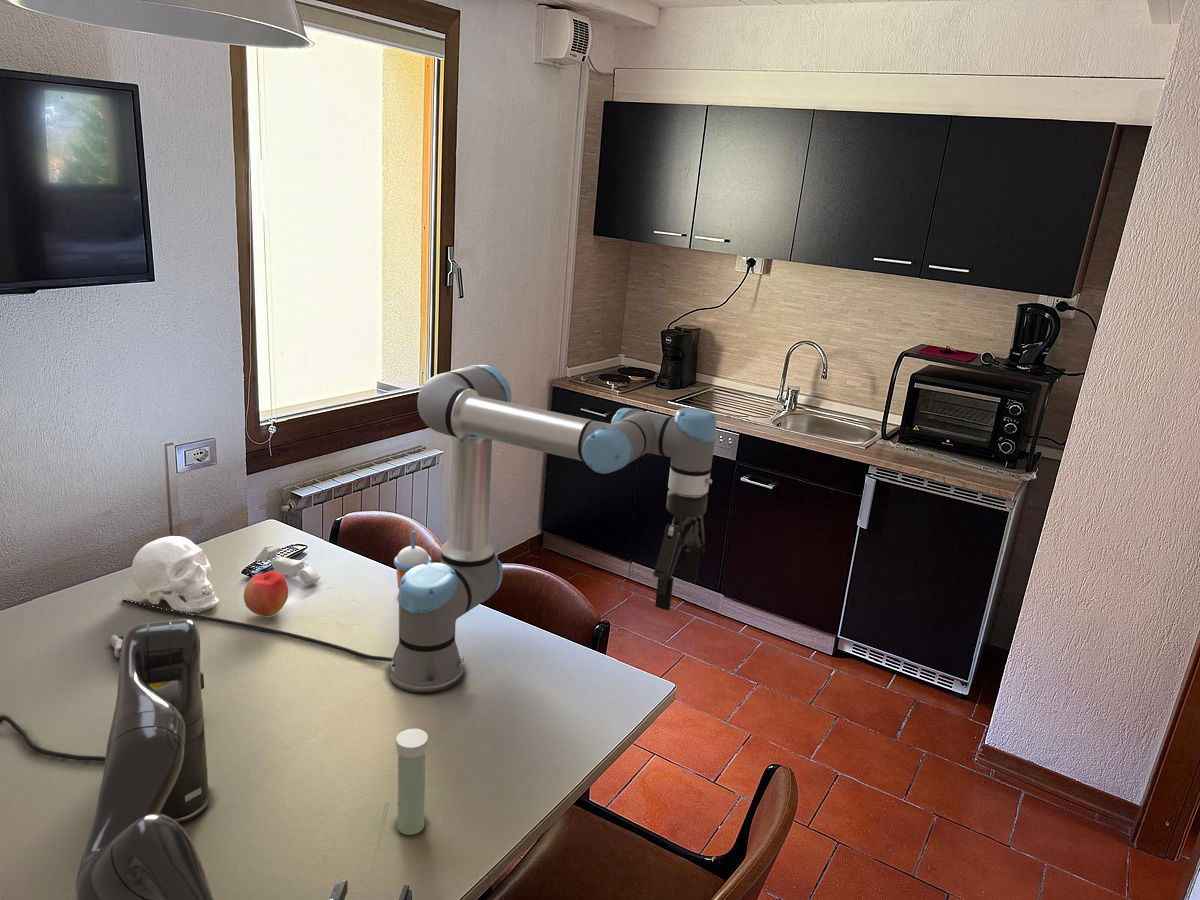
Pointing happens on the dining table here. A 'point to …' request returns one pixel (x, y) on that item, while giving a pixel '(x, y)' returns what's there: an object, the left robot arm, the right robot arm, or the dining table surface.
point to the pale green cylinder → (411, 794)
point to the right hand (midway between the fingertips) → (676, 594)
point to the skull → (174, 574)
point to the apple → (266, 593)
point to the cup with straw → (410, 558)
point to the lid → (411, 743)
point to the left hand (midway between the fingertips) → (376, 887)
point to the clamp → (288, 565)
